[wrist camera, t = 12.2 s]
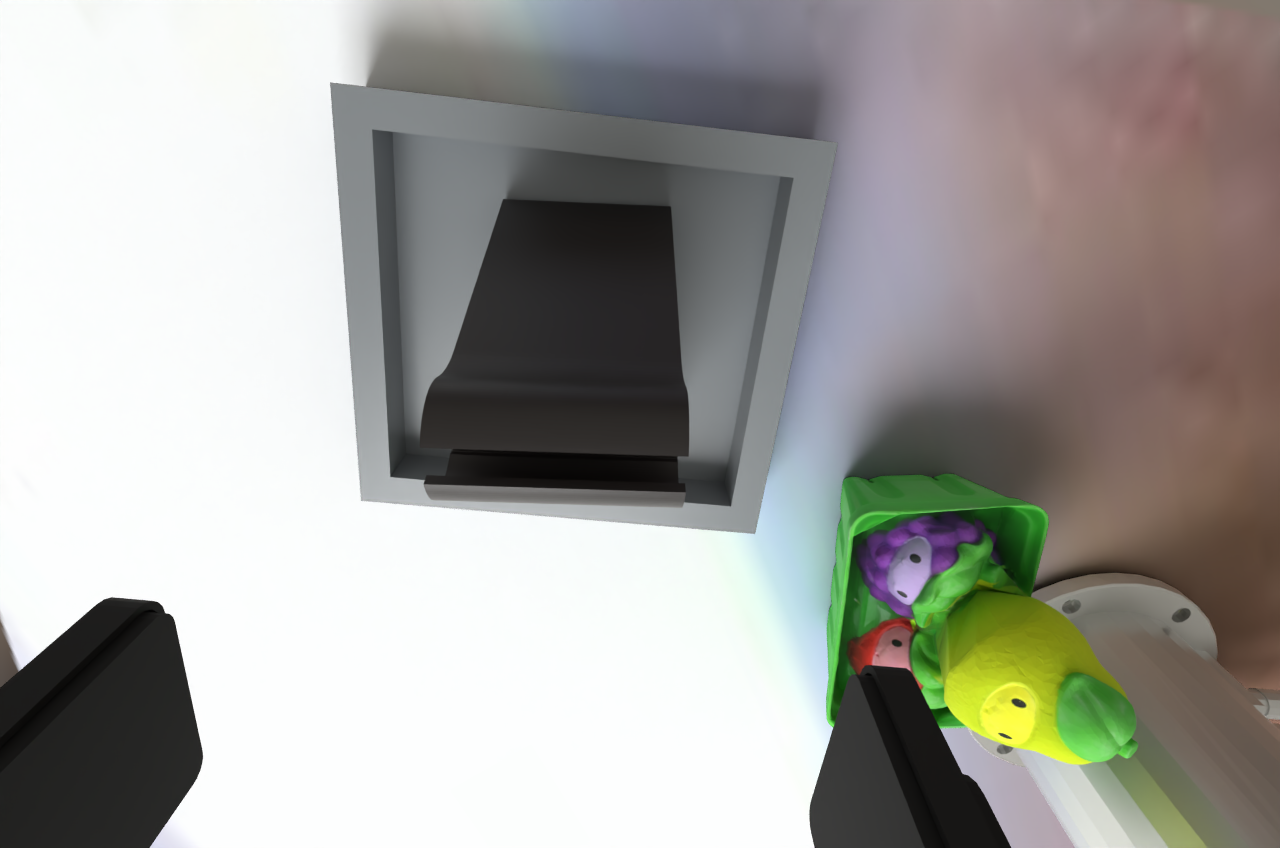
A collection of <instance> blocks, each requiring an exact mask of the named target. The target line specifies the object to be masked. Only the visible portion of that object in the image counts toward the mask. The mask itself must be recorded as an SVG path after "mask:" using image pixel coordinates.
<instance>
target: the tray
mask: <svg viewBox="0 0 1280 848" xmlns="http://www.w3.org/2000/svg"><path fill="white" fill-rule="evenodd" d="M330 87H331V100H332V114H333V127H334V141H335V154H336V168H337V181H338V195H339V208H340V221H341V235H342V248H343V262H344V275H345V289H346V302H347V316H348V329H349V343H350V356H351V370H352V383H353V397H354V410H355V424H356V437H357V451H358V464H359V478H360V491H361V501H370V502H382V503H394V504H406V505H418V506H430V507H442V508H454V509H466V510H478V511H490V512H502V513H514V514H525V515H537V516H549V517H561V518H573V519H585V520H597V521H609V522H621V523H633V524H645V525H657V526H669V527H680V528H692V529H704V530H716V531H728V532H740V533H752V534H755V532H756V527H757V522H758V517H759V513H760V508H761V503H762V499H763V494H764V489H765V484H766V480H767V475H768V470H769V465H770V461H771V456H772V451H773V447H774V442H775V437H776V432H777V428H778V423H779V418H780V414H781V409H782V404H783V399H784V395H785V390H786V385H787V381H788V376H789V371H790V366H791V362H792V357H793V352H794V348H795V343H796V338H797V333H798V329H799V324H800V319H801V315H802V310H803V305H804V300H805V296H806V291H807V286H808V282H809V277H810V272H811V267H812V263H813V258H814V253H815V248H816V244H817V239H818V234H819V230H820V225H821V220H822V215H823V211H824V206H825V201H826V197H827V192H828V187H829V182H830V178H831V173H832V168H833V164H834V159H835V154H836V149H837V145H838V143H836V142H828V141H819V140H811V139H803V138H794V137H786V136H777V135H769V134H760V133H752V132H743V131H735V130H727V129H718V128H710V127H701V126H693V125H684V124H676V123H668V122H659V121H651V120H642V119H634V118H625V117H617V116H609V115H600V114H592V113H583V112H575V111H566V110H558V109H549V108H541V107H533V106H524V105H516V104H507V103H499V102H490V101H482V100H474V99H465V98H457V97H448V96H440V95H431V94H423V93H414V92H406V91H398V90H389V89H381V88H372V87H364V86H355V85H347V84H339V83H330ZM503 199H514V200H537V201H560V202H582V203H605V204H628V205H650V206H671V212H672V227H673V242H674V257H675V272H676V287H677V302H678V316H679V331H680V346H681V361H682V371H683V378H684V382H685V385H686V387H687V392H688V401H689V457H683V456H678V480H679V483H685V488H686V495H685V500H684V504H683V507H682V508H666V507H633V506H600V505H567V504H534V503H501V502H468V501H435V500H431V499H430V498H429V497H428V495H427V493H426V491H425V488H424V485H423V484H424V481H425V478H426V475H437V476H445V474H446V471H447V467H448V462H449V456H450V453H451V451H452V450H451V449H438V448H420V429H421V420H422V413H423V407H424V403H425V399H426V395H427V392H428V390H429V387H430V385H431V383H432V382H433V380H434V379H435V378H436V377H438V376H439V375H441V374H442V373H443V371H444V370H445V369H446V367H447V365H448V363H449V361H450V359H451V357H452V354H453V351H454V348H455V345H456V342H457V339H458V336H459V333H460V330H461V327H462V324H463V321H464V318H465V314H466V311H467V308H468V305H469V302H470V299H471V296H472V293H473V290H474V287H475V284H476V281H477V278H478V274H479V271H480V268H481V265H482V262H483V259H484V256H485V253H486V250H487V247H488V244H489V241H490V238H491V235H492V231H493V228H494V225H495V222H496V219H497V216H498V213H499V210H500V207H501V204H502V201H503Z"/></svg>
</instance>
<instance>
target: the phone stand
mask: <svg viewBox="0 0 1280 848" xmlns="http://www.w3.org/2000/svg"><path fill="white" fill-rule="evenodd" d="M420 448H438V449H451V450H452V451H451V453H450V456H449V462H448V467H447V471H446V474H445V476H437V475H426V478H425V481H424V484H423V485H424V488H425V491H426V493H427V495H428V497H429V498H430V499H431V500H435V501H468V502H501V503H534V504H567V505H600V506H633V507H666V508H682V507H683V504H684V500H685V495H686V488H685V483H679V480H678V456H683V457H689V401H688V392H687V387H686V385H685V382H684V378H683V371H682V361H681V346H680V331H679V316H678V302H677V287H676V272H675V257H674V242H673V227H672V212H671V206H650V205H628V204H605V203H582V202H560V201H537V200H514V199H503V201H502V204H501V207H500V210H499V213H498V216H497V219H496V222H495V225H494V228H493V231H492V235H491V238H490V241H489V244H488V247H487V250H486V253H485V256H484V259H483V262H482V265H481V268H480V271H479V274H478V278H477V281H476V284H475V287H474V290H473V293H472V296H471V299H470V302H469V305H468V308H467V311H466V314H465V318H464V321H463V324H462V327H461V330H460V333H459V336H458V339H457V342H456V345H455V348H454V351H453V354H452V357H451V359H450V361H449V363H448V365H447V367H446V369H445V370H444V371H443V373H442V374H441V375H439V376H438V377H436V378H435V379H434V380H433V382H432V383H431V385H430V387H429V390H428V392H427V395H426V399H425V403H424V407H423V413H422V420H421V429H420Z"/></svg>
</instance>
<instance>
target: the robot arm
mask: <svg viewBox="0 0 1280 848" xmlns="http://www.w3.org/2000/svg"><path fill="white" fill-rule="evenodd" d="M1031 597H1033V598H1035V599H1038V600H1040V601H1042V602H1044V603H1046V604H1047V605H1049V606H1051V607H1052V608H1054V609H1055V610H1057V611H1059V612H1060V613H1061V614H1063V615H1064V616H1065V617H1066V618H1067V619H1069V620H1070V621H1071V622H1072V623H1073V624H1074V625H1075V626H1076V628H1077V629H1078V630H1079V631H1080V632H1081V633H1082V635H1083V636H1084V637H1085V638H1086V640H1087V642H1088V644H1089V645H1090V647H1091V649H1092V651H1093V652H1094V654H1095V656H1096V658H1097V659H1098V661H1099V662H1100V664H1101V665H1102V666H1103V667H1104V668H1105V669H1106V670H1107V671H1108V672H1109V673H1110V674H1111V675H1112V676H1113V677H1114V679H1115V680H1116V681H1117V682H1118V683H1119V684H1120V686H1121V687H1122V688H1123V690H1124V692H1125V693H1126V695H1127V698H1128V701H1129V702H1130V703H1131V704H1132V706H1133V709H1134V712H1135V715H1136V730H1135V732H1134V734H1133V736H1132V739H1133V740H1135V741H1136V742H1137V743H1138V748H1137V751H1136V752H1135V753H1134V754H1133V755H1132V756H1131V757H1130V758H1124V757H1122V756H1121V755H1119V754H1118V753H1117V754H1116V755H1115V756H1114V757H1113V758H1111V759H1109V760H1107V761H1104V762H1092V763H1089V764H1083V765H1073V764H1068V763H1065V762H1062V761H1058V760H1056V759H1053V758H1051V757H1048V756H1046V755H1043V754H1041V753H1038V752H1036V751H1031V750H1025V749H1019V748H1014V747H1010V746H1007V745H1004V744H1001V743H998V742H996V741H993V740H990V739H988V738H986V737H984V736H981V735H980V734H978V733H977V732H975V731H972V730H971V729H970V728H968V727H967V729H968V730H969V732H970V734H971V736H972V737H973V738H974V739H975V740H976V741H977V743H978V744H979V745H980V746H981V747H982V748H983V749H984V750H986V751H987V752H989V753H990V754H991V755H993V756H994V757H996V758H999V759H1001V760H1003V761H1006V762H1008V763H1011V764H1013V765H1017V766H1022V767H1026V768H1027V770H1028V772H1029V773H1030V775H1031V776H1032V778H1033V780H1034V781H1035V783H1036V785H1037V786H1038V788H1039V790H1040V791H1041V793H1042V794H1043V796H1044V798H1045V799H1046V801H1047V803H1048V804H1049V806H1050V808H1051V809H1052V811H1053V812H1054V814H1055V816H1056V817H1057V819H1058V821H1059V822H1060V824H1061V826H1062V827H1063V829H1064V830H1065V832H1066V834H1067V835H1068V837H1069V839H1070V840H1071V842H1072V843H1073V845H1074V847H1075V848H1280V725H1279V724H1276V723H1272V722H1270V721H1269V720H1268V719H1279V720H1280V690H1270V689H1256V688H1249V689H1246V688H1245V687H1244V686H1243V685H1242V684H1241V683H1240V682H1239V681H1237V680H1236V679H1235V678H1234V677H1233V676H1232V675H1231V674H1230V673H1229V672H1228V671H1227V670H1226V669H1224V668H1223V667H1222V666H1221V665H1220V664H1219V663H1218V662H1217V661H1216V660H1217V654H1218V650H1217V640H1216V634H1215V632H1214V630H1213V627H1212V625H1211V623H1210V620H1209V619H1208V618H1207V617H1206V615H1205V614H1204V613H1203V612H1202V611H1201V609H1200V608H1199V607H1198V606H1197V605H1196V604H1194V603H1193V602H1192V601H1191V600H1190V599H1188V598H1187V597H1186V596H1185V595H1184V594H1182V593H1181V592H1180V591H1179V590H1177V589H1176V588H1174V587H1172V586H1170V585H1168V584H1166V583H1164V582H1162V581H1160V580H1157V579H1153V578H1149V577H1145V576H1142V575H1137V574H1125V573H1104V574H1091V575H1086V576H1081V577H1077V578H1072V579H1068V580H1063V581H1060V582H1058V583H1055V584H1052V585H1050V586H1047V587H1044V588H1042V589H1039V590H1037V591H1035V592H1033V593H1032V595H1031ZM202 760H203V751H202V747H201V742H200V737H199V733H198V728H197V723H196V719H195V714H194V709H193V705H192V700H191V695H190V691H189V686H188V681H187V677H186V672H185V667H184V663H183V658H182V653H181V649H180V644H179V639H178V635H177V630H176V625H175V621H174V619H173V617H172V616H171V615H170V614H166V613H165V611H164V609H163V606H162V605H161V604H159V603H158V602H155V601H146V600H135V599H124V598H108V599H104V600H103V601H101V602H100V603H98V604H97V605H96V606H94V607H93V608H92V609H91V610H90V611H89V612H87V613H86V614H85V615H84V616H83V617H82V618H81V619H79V620H78V621H77V622H76V623H75V624H74V625H72V626H71V627H70V628H69V629H68V630H67V631H65V632H64V633H63V634H62V635H61V636H60V637H59V638H57V639H56V640H55V641H54V642H53V643H52V644H50V645H49V646H48V647H47V648H46V649H45V650H43V651H42V652H41V653H40V654H39V655H38V656H36V657H35V658H34V659H33V660H32V661H31V662H30V663H28V664H27V665H26V666H25V667H24V668H23V669H21V670H20V671H19V672H18V673H17V674H16V675H15V676H13V677H12V678H11V679H10V680H9V681H8V682H6V683H5V684H4V685H3V686H2V687H1V688H0V848H150V846H151V845H152V843H153V842H154V840H155V839H156V837H157V836H158V835H159V833H160V832H161V830H162V829H163V827H164V826H165V824H166V823H167V822H168V820H169V819H170V817H171V816H172V814H173V813H174V811H175V810H176V809H177V807H178V806H179V804H180V803H181V801H182V800H183V798H184V797H185V796H186V794H187V793H188V791H189V790H190V788H191V787H192V785H193V784H194V782H195V780H196V779H197V777H198V774H199V772H200V769H201V765H202ZM810 828H811V834H812V838H813V842H814V846H815V848H1011V846H1010V844H1009V842H1008V840H1007V838H1006V836H1005V834H1004V833H1003V831H1002V829H1001V827H1000V825H999V823H998V821H997V819H996V817H995V815H994V813H993V811H992V809H991V807H990V805H989V803H988V801H987V799H986V797H985V795H984V794H983V792H982V791H981V789H980V788H979V786H978V784H977V783H976V782H975V781H974V780H973V779H972V778H970V777H969V776H968V775H964V774H962V772H961V770H960V768H959V766H958V764H957V762H956V760H955V758H954V756H953V754H952V752H951V750H950V748H949V746H948V744H947V742H946V740H945V738H944V736H943V734H942V732H941V730H940V728H939V726H938V724H937V722H936V720H935V718H934V716H933V714H932V712H931V709H930V707H929V705H928V703H927V701H926V699H925V697H924V695H923V693H922V691H921V689H920V687H919V685H918V683H917V681H916V679H915V677H914V676H913V674H912V673H911V671H910V670H908V669H907V668H898V667H887V666H876V665H865V666H864V667H863V668H862V671H861V673H860V675H856V674H852V675H851V676H850V677H849V679H848V681H847V685H846V688H845V691H844V695H843V698H842V701H841V704H840V708H839V711H838V714H837V718H836V721H835V724H834V727H833V731H832V734H831V737H830V741H829V744H828V747H827V750H826V754H825V757H824V760H823V764H822V767H821V770H820V773H819V777H818V780H817V783H816V787H815V790H814V793H813V796H812V800H811V804H810Z"/></svg>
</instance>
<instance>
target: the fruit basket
mask: <svg viewBox="0 0 1280 848" xmlns="http://www.w3.org/2000/svg"><path fill="white" fill-rule="evenodd" d="M840 507H841V515H842V518H841V521H840V523H839V525H838V530H837V539H836V549H835V552H836V561H837V562H836V565H835V567H834V569H833V577H832V586H831V602H832V605H831V607H830V609H829V614H828V623H827V647H828V672H829V679H828V688H827V697H826V712H827V721H828V723H829V724H830V725H831V726H832V727H834V724H835V721H836V718H837V714H838V711H839V708H840V704H841V701H842V698H843V695H844V691H845V688H846V685H847V681H848V679H849V677H850V676H851V675H852V674H856V675H860V673H861V671H862V668H863V667H864V666H865V665H876V666H887V667H898V668H907V669H908V670H910V671H911V673H912V674H913V676H914V677H915V679H916V681H917V683H918V685H919V687H920V689H921V691H922V693H923V695H924V697H925V699H926V701H927V703H928V705H929V707H930V709H931V712H932V714H933V716H934V718H935V720H936V722H937V724H938V726H939V728H965V727H968V728H970V729H971V730H972V731H975V732H977V733H978V734H980V735H981V736H984V737H986V738H988V739H990V740H993V741H996V742H998V743H1001V744H1004V745H1007V746H1010V747H1014V748H1019V749H1025V750H1031V751H1036V752H1038V753H1041V754H1043V755H1046V756H1048V757H1051V758H1053V759H1056V760H1058V761H1062V762H1065V763H1068V764H1073V765H1083V764H1089V763H1092V762H1104V761H1107V760H1109V759H1111V758H1113V757H1114V756H1115V755H1116V754H1117V753H1118V754H1119V755H1121V756H1122V757H1124V758H1130V757H1131V756H1132V755H1133V754H1134V753H1135V752H1136V751H1137V748H1138V743H1137V742H1136V741H1135V740H1133V739H1132V736H1133V734H1134V732H1135V730H1136V715H1135V712H1134V709H1133V706H1132V704H1131V703H1130V702H1129V701H1128V698H1127V695H1126V693H1125V692H1124V690H1123V688H1122V687H1121V686H1120V684H1119V683H1118V682H1117V681H1116V680H1115V679H1114V677H1113V676H1112V675H1111V674H1110V673H1109V672H1108V671H1107V670H1106V669H1105V668H1104V667H1103V666H1102V665H1101V664H1100V662H1099V661H1098V659H1097V658H1096V656H1095V654H1094V652H1093V651H1092V649H1091V647H1090V645H1089V644H1088V642H1087V640H1086V638H1085V637H1084V636H1083V635H1082V633H1081V632H1080V631H1079V630H1078V629H1077V628H1076V626H1075V625H1074V624H1073V623H1072V622H1071V621H1070V620H1069V619H1067V618H1066V617H1065V616H1064V615H1063V614H1061V613H1060V612H1059V611H1057V610H1055V609H1054V608H1052V607H1051V606H1049V605H1047V604H1046V603H1044V602H1042V601H1040V600H1038V599H1035V598H1033V597H1031V595H1032V591H1033V587H1034V583H1035V579H1036V575H1037V571H1038V568H1039V563H1040V559H1041V555H1042V551H1043V547H1044V543H1045V539H1046V535H1047V530H1048V525H1049V519H1048V515H1047V513H1046V512H1045V511H1044V510H1043V509H1042V508H1040V507H1039V506H1036V505H1033V504H1030V503H1028V502H1025V501H1022V500H1020V499H1016V498H1008V497H1005V496H1003V495H1001V494H998V493H996V492H994V491H992V490H989V489H987V488H985V487H983V486H980V485H978V484H976V483H973V482H971V481H969V480H966V479H964V478H962V477H959V476H957V475H955V474H942V475H939V476H935V477H934V478H931V477H928V476H924V475H896V476H879V477H876V478H872V479H870V480H866V479H862V478H859V477H848V478H846V479H845V480H844V481H843V485H842V493H841V503H840Z"/></svg>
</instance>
